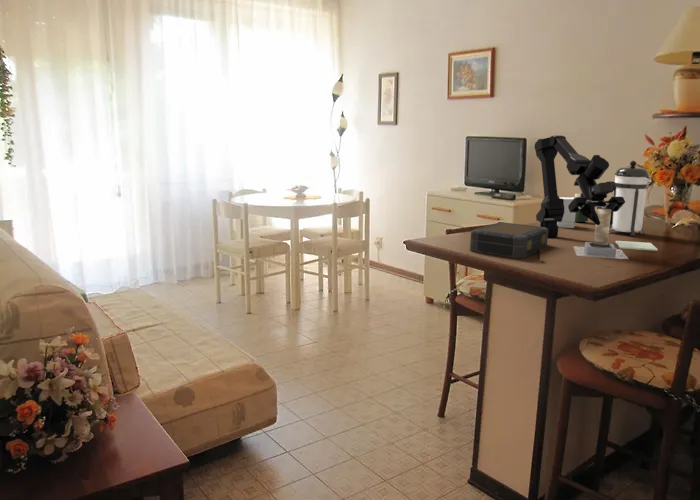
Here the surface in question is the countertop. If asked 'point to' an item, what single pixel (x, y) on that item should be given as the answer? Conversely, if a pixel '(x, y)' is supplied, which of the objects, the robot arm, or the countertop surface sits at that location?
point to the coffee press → (630, 199)
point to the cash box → (509, 240)
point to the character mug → (579, 216)
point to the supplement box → (567, 215)
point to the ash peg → (602, 227)
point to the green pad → (636, 245)
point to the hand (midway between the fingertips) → (605, 224)
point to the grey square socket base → (600, 251)
